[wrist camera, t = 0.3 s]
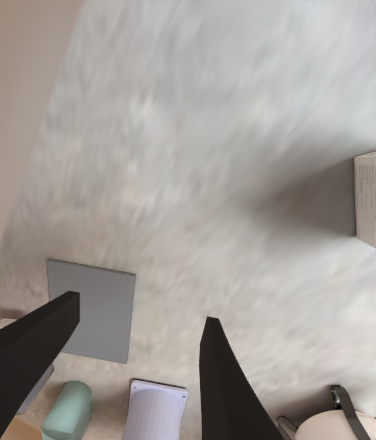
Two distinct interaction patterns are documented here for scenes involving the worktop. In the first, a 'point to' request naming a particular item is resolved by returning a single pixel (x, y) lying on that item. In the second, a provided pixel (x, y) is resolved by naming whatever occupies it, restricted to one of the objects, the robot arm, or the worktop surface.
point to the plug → (39, 384)
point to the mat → (96, 308)
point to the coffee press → (334, 422)
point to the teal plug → (68, 413)
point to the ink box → (365, 197)
